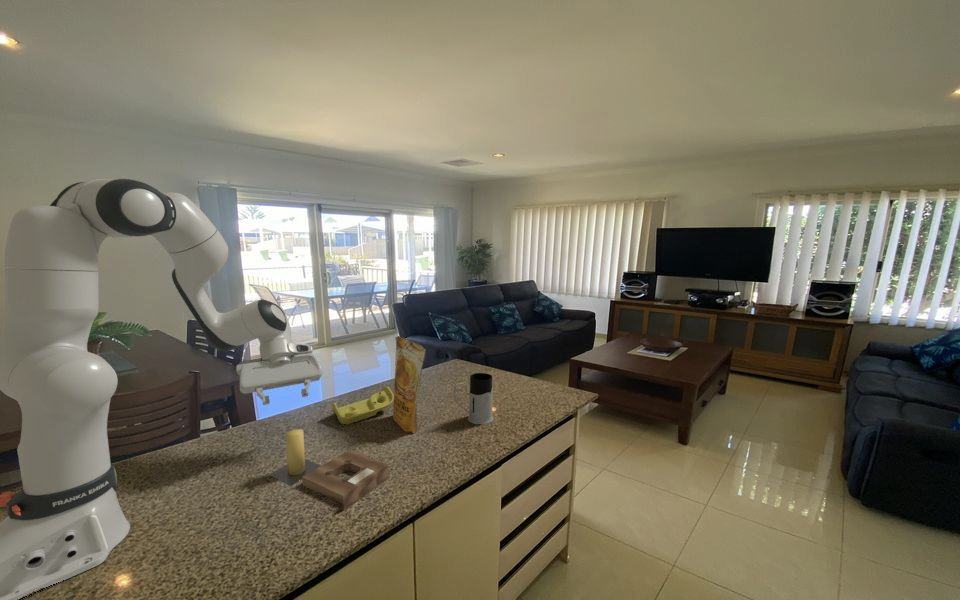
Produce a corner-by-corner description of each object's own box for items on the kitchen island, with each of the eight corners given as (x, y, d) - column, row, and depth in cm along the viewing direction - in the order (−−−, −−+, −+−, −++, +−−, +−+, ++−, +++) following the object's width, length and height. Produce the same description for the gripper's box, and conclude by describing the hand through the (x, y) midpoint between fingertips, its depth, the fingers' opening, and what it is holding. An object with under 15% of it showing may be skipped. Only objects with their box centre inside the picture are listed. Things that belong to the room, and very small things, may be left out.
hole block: (344, 510, 82) (343, 495, 82) (302, 490, 89) (302, 476, 89) (388, 477, 94) (388, 464, 94) (349, 462, 101) (349, 449, 101)
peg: (294, 477, 92) (292, 438, 91) (284, 472, 94) (282, 434, 93) (308, 468, 95) (306, 431, 94) (298, 464, 97) (296, 427, 96)
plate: (291, 491, 89) (291, 485, 88) (268, 480, 93) (268, 474, 93) (324, 472, 96) (323, 466, 96) (301, 462, 101) (301, 457, 101)
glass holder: (498, 421, 126) (498, 378, 124) (458, 429, 120) (459, 384, 118) (486, 411, 134) (486, 371, 132) (449, 418, 128) (449, 376, 126)
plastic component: (342, 420, 121) (332, 399, 127) (341, 436, 125) (331, 414, 131) (398, 402, 133) (386, 383, 139) (396, 416, 136) (385, 397, 143)
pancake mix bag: (405, 410, 134) (404, 334, 131) (428, 432, 118) (427, 345, 115) (387, 414, 131) (385, 336, 127) (408, 437, 115) (406, 348, 111)
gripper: (235, 355, 99) (240, 403, 93) (317, 345, 111) (327, 386, 104) (235, 367, 103) (240, 414, 97) (314, 356, 115) (324, 396, 109)
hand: (286, 399), depth 101 cm, fingers open, 8 cm apart
